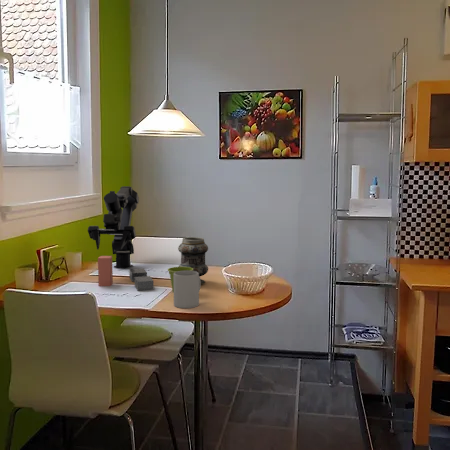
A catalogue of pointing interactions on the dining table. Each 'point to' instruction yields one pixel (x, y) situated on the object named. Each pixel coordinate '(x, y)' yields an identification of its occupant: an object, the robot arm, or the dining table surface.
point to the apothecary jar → (194, 255)
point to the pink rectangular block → (105, 271)
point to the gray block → (141, 279)
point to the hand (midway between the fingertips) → (109, 249)
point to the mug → (186, 289)
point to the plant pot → (175, 269)
